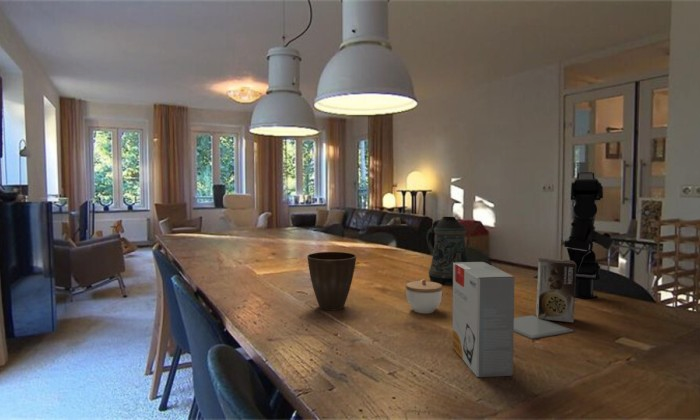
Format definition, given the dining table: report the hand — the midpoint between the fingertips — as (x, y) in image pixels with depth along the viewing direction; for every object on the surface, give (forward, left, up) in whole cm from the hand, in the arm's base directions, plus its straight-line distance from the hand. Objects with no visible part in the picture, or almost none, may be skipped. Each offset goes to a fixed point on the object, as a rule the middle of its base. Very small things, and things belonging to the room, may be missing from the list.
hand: (575, 272), depth 129 cm
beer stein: (+12, -49, -11) cm, 51 cm away
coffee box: (+13, +4, -11) cm, 18 cm away
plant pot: (+66, -31, -11) cm, 74 cm away
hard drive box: (+51, +20, -11) cm, 56 cm away
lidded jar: (+42, -17, -11) cm, 47 cm away
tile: (+24, +7, -11) cm, 28 cm away
